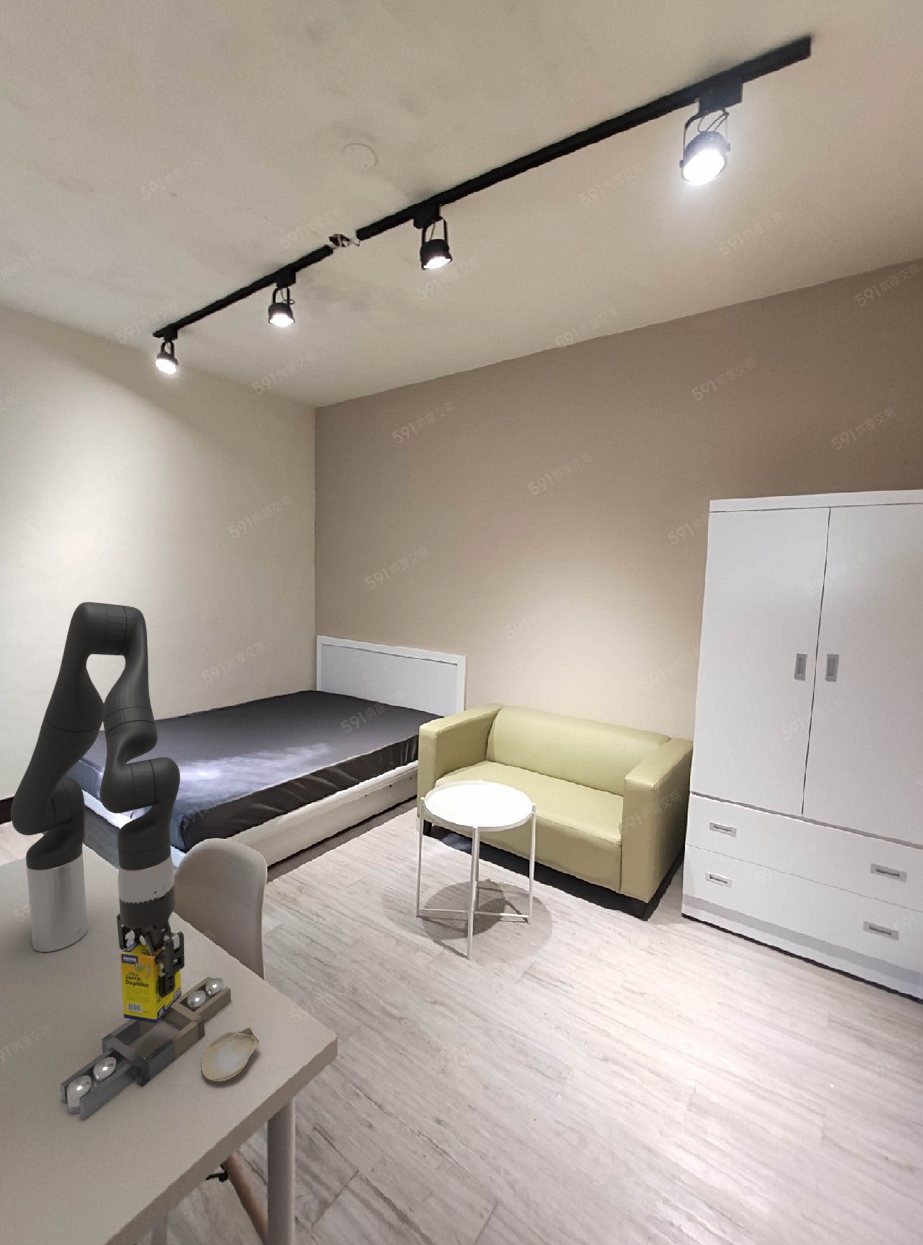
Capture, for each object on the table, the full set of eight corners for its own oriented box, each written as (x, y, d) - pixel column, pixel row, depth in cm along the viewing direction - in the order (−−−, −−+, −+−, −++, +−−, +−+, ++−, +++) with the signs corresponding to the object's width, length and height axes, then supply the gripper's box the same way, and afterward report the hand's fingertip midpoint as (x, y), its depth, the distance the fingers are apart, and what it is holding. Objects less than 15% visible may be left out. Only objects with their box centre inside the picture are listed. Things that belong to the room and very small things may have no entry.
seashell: (200, 1071, 86) (211, 1098, 80) (194, 1052, 86) (205, 1078, 80) (252, 1035, 91) (266, 1058, 85) (247, 1017, 91) (261, 1040, 84)
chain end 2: (136, 1032, 91) (135, 1015, 90) (203, 983, 101) (202, 967, 101) (175, 1059, 86) (174, 1042, 85) (241, 1005, 96) (240, 989, 96)
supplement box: (156, 1024, 84) (153, 958, 83) (122, 1018, 85) (118, 953, 84) (183, 995, 90) (179, 932, 89) (150, 990, 91) (147, 928, 90)
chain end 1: (50, 1094, 80) (49, 1076, 80) (136, 1032, 91) (135, 1015, 90) (89, 1130, 75) (88, 1110, 75) (175, 1059, 86) (174, 1042, 85)
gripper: (96, 885, 86) (102, 983, 87) (151, 913, 79) (157, 1019, 81) (143, 862, 92) (148, 954, 94) (198, 886, 85) (203, 985, 87)
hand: (152, 984), depth 87 cm, fingers closed on supplement box, 7 cm apart
